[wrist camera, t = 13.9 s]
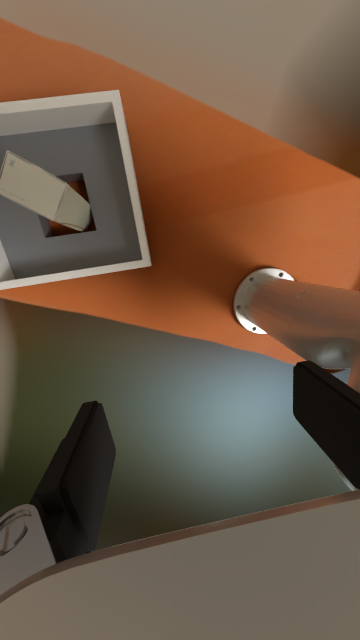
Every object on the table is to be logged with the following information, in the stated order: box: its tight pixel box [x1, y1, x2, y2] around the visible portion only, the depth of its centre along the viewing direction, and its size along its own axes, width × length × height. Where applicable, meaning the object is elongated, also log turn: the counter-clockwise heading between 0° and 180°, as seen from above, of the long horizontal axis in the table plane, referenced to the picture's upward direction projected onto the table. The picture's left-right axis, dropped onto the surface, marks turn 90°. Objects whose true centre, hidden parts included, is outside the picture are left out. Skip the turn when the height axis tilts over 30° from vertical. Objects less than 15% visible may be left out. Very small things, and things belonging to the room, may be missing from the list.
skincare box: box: [0, 150, 93, 232], centre depth 28 cm, size 6×4×12 cm
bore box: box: [0, 90, 152, 290], centre depth 30 cm, size 22×20×7 cm
